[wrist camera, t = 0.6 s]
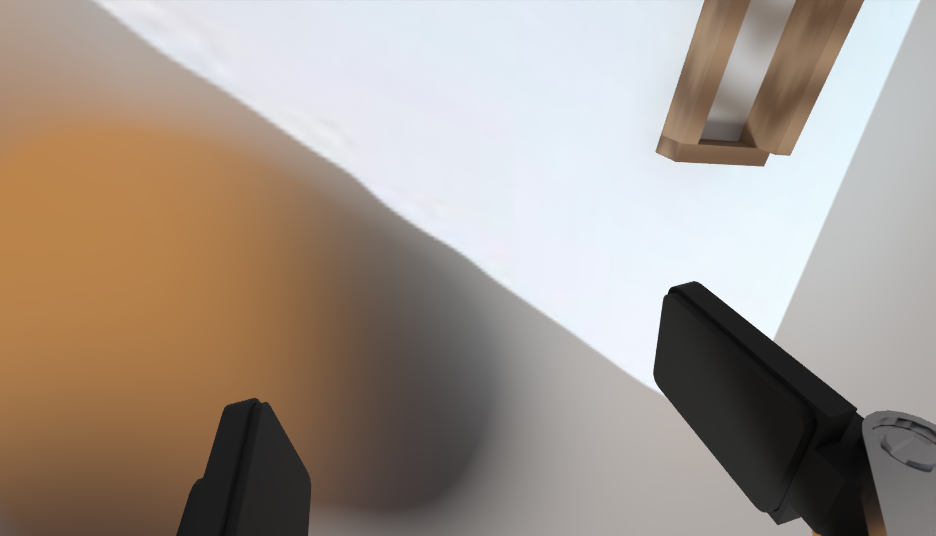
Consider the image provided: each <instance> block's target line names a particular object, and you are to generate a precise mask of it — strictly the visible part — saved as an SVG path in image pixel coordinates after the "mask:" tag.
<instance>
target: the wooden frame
mask: <svg viewBox="0 0 936 536" xmlns="http://www.w3.org/2000/svg"><path fill="white" fill-rule="evenodd" d="M863 2H864V0H705V1H704V4H703V7H702V10H701V13H700V17H699V20H698V23H697V26H696V29H695V32H694V35H693V38H692V41H691V44H690V47H689V50H688V54H687V57H686V60H685V63H684V66H683V69H682V72H681V75H680V78H679V81H678V84H677V87H676V91H675V94H674V97H673V100H672V103H671V106H670V109H669V112H668V115H667V118H666V121H665V124H664V128H663V131H662V134H661V137H660V140H659V143H658V146H657V149H656V153H658V154H661V155H663V156H665V157H667V158H669V159H671V160H673V161H675V162H689V163H708V164H727V165H746V166H764V165H765V163H766V161H767V158H768V156H769V154H770V153H772V154H775V155H788V156H790V155H791V153H792V151H793V148H794V146H795V144H796V142H797V140H798V138H799V136H800V134H801V132H802V130H803V127H804V125H805V123H806V121H807V119H808V117H809V115H810V113H811V111H812V109H813V106H814V104H815V102H816V100H817V98H818V96H819V94H820V92H821V90H822V88H823V85H824V83H825V81H826V79H827V77H828V75H829V73H830V71H831V69H832V67H833V65H834V62H835V60H836V58H837V56H838V54H839V52H840V50H841V48H842V46H843V44H844V41H845V39H846V37H847V35H848V33H849V31H850V29H851V27H852V25H853V23H854V20H855V18H856V16H857V14H858V12H859V10H860V8H861V6H862V4H863Z"/></svg>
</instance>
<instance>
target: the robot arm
mask: <svg viewBox="0 0 936 536" xmlns="http://www.w3.org/2000/svg"><path fill="white" fill-rule="evenodd" d="M653 375H654V379H655V382H656V384H657V386H658V387H659V388H660V390H661V391H662V392H663V393H664V395H665V396H666V397H667V398H668V400H669V401H670V402H671V403H672V404H673V406H674V407H675V408H676V409H677V411H678V412H679V413H680V414H681V416H682V417H683V418H684V419H685V421H686V422H687V423H688V424H689V425H690V427H691V428H692V429H693V430H694V431H695V433H696V434H697V435H698V437H699V438H700V439H701V440H702V441H703V443H704V444H705V445H706V446H707V448H708V449H709V450H710V451H711V453H712V454H713V455H714V456H715V457H716V459H717V460H718V461H719V463H720V464H721V465H722V466H723V467H724V469H725V470H726V471H727V472H728V474H729V475H730V476H731V477H732V479H733V480H734V481H735V482H736V483H737V485H738V486H739V487H740V488H741V490H742V491H743V492H744V493H745V495H746V496H747V497H748V498H749V500H750V501H751V502H752V503H753V504H754V505H755V507H756V508H758V509H759V510H760V511H762V512H767V513H768V514H769V515H770V516H771V518H772V519H773V520H774V521H775V523H776V524H777V525H780V524H783V523H786V522H789V521H792V520H794V519H797V518H800V517H802V518H803V520H804V521H805V522H806V523H807V524H808V525H809V526H810V528H811V529H812V533H813V536H936V425H935V424H933V423H931V422H929V421H926V420H924V419H922V418H920V417H916V416H914V415H910V414H907V413H903V412H896V411H889V410H888V411H877V412H874V413H872V414H870V415H867V416H866V418H865V419H864V418H863V417H861V416H860V415H859V414H858V413H857V412H856V411H857V408H856V407H854V406H853V405H852V404H851V403H850V402H848V401H847V400H845V398H843V397H842V396H841V395H839V394H838V393H837V392H836V391H835V390H833V389H832V388H831V387H830V386H828V385H827V384H826V383H825V382H823V381H822V380H821V379H819V378H818V377H817V376H816V375H814V374H813V373H812V372H811V371H810V370H808V369H807V368H806V367H805V366H803V365H802V364H801V363H800V362H798V361H797V360H796V359H794V358H793V357H792V356H791V355H789V354H788V353H787V352H785V351H784V350H783V349H782V348H781V347H779V346H778V345H777V344H776V343H774V342H773V341H772V340H771V339H769V338H768V337H767V336H766V335H764V334H763V333H762V332H761V331H759V330H758V329H757V328H756V327H754V326H753V325H752V324H751V323H749V322H748V321H747V320H746V319H744V318H743V317H742V316H741V315H739V314H738V313H737V312H736V311H734V310H733V309H732V308H731V307H729V306H728V305H727V304H726V303H724V302H723V301H722V300H721V299H719V298H718V297H717V296H716V295H714V294H713V293H712V292H711V291H709V290H708V289H707V288H705V287H704V286H703V285H702V284H700V283H699V282H695V281H693V282H689V283H685V284H682V285H678V286H674V287H671V288H670V289H669V292H668V294H667V295H665V296H664V299H663V305H662V312H661V319H660V327H659V334H658V341H657V349H656V356H655V364H654V371H653ZM310 498H311V482H310V477H309V474H308V472H307V470H306V468H305V466H304V465H303V463H302V461H301V459H300V457H299V456H298V454H297V452H296V450H295V449H294V447H293V445H292V443H291V442H290V440H289V438H288V436H287V435H286V433H285V431H284V429H283V428H282V426H281V424H280V422H279V420H278V419H277V417H276V415H275V413H274V412H273V410H272V408H271V406H270V405H269V403H267V402H264V403H260V401H259V400H258V399H256V398H252V399H248V400H245V401H241V402H237V403H234V404H229V405H227V406H226V407H225V408H224V411H223V413H222V416H221V420H220V423H219V426H218V430H217V433H216V436H215V440H214V443H213V447H212V450H211V453H210V457H209V460H208V463H207V467H206V470H205V474H204V477H203V478H201V479H198V480H197V481H196V482H195V484H194V485H193V487H192V490H191V491H190V494H189V497H188V500H187V503H186V506H185V510H184V513H183V516H182V519H181V522H180V526H179V529H178V532H177V535H176V536H308V526H309V512H310Z"/></svg>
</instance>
